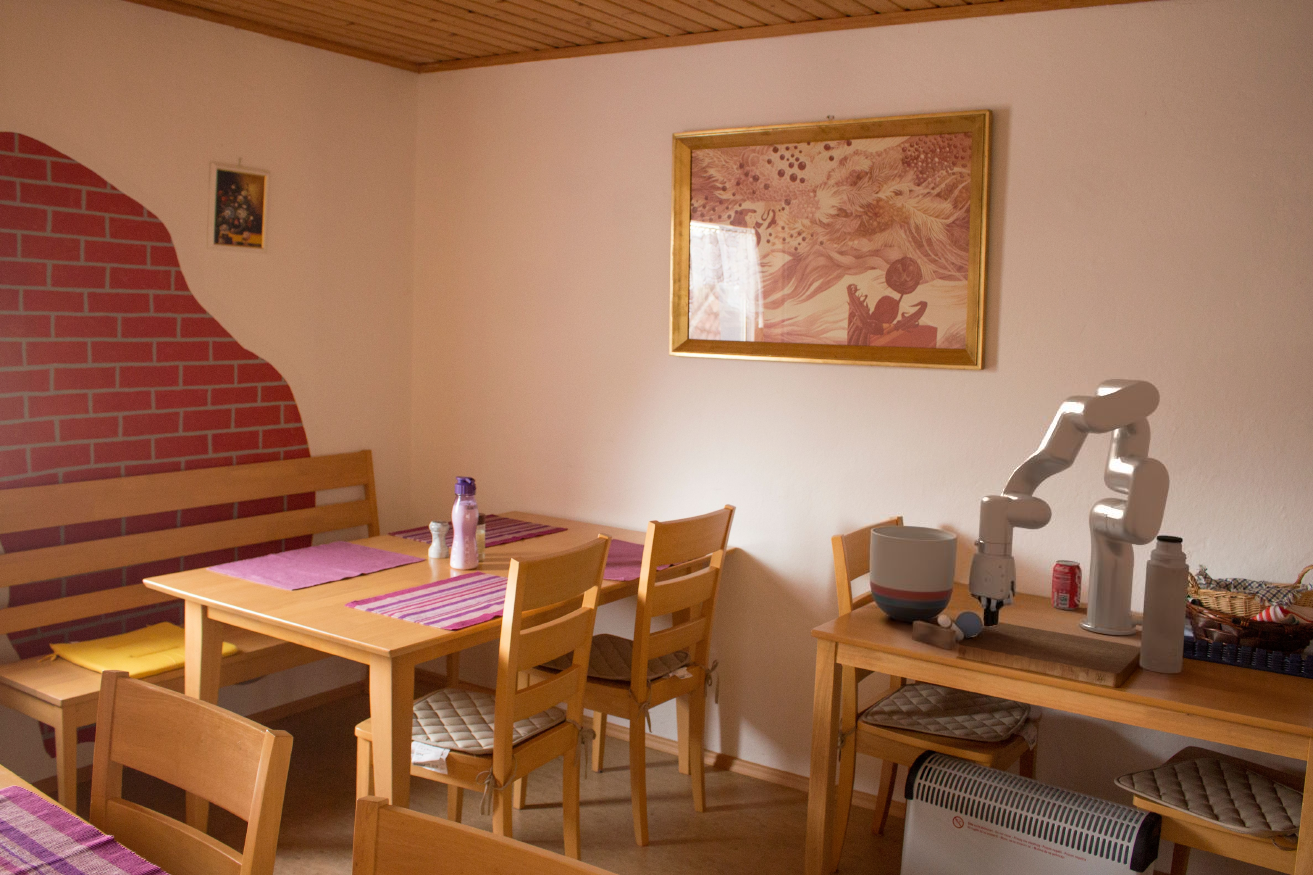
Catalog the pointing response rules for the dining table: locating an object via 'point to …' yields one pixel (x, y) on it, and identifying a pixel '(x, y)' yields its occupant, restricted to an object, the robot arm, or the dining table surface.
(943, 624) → the pin
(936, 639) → the stopper bar
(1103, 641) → the dining table surface
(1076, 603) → the soda can
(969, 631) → the ball
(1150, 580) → the thermos bottle
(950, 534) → the planter
